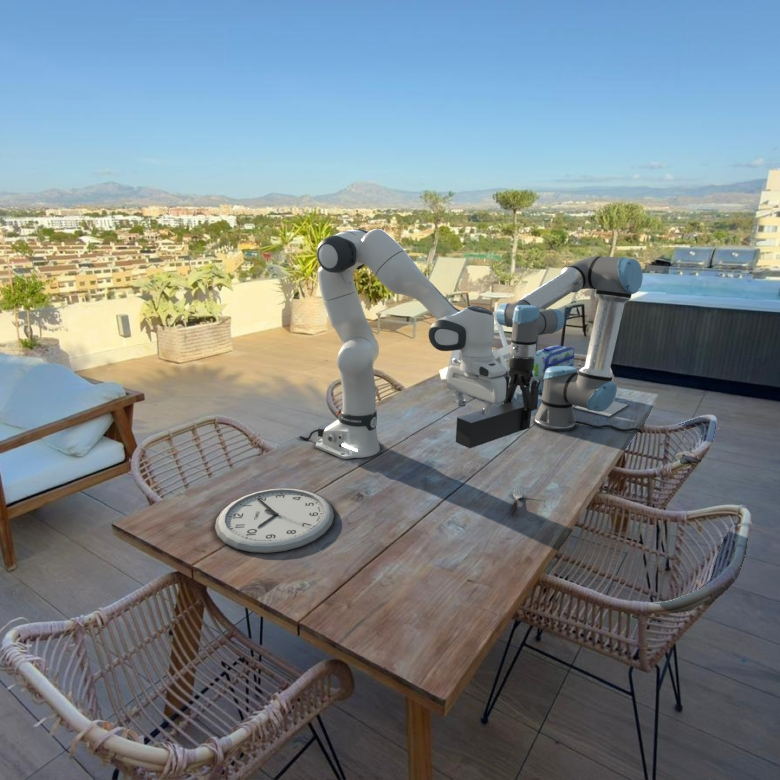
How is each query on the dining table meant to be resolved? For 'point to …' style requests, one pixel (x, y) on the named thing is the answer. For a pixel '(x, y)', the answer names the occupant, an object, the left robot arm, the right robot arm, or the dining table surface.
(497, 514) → the dining table surface
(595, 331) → the right robot arm
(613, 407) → the invitation card
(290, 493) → the wall clock
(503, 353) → the white plastic object
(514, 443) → the dining table surface
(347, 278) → the left robot arm
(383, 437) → the dining table surface
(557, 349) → the lunch box
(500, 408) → the bar
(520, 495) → the fork
